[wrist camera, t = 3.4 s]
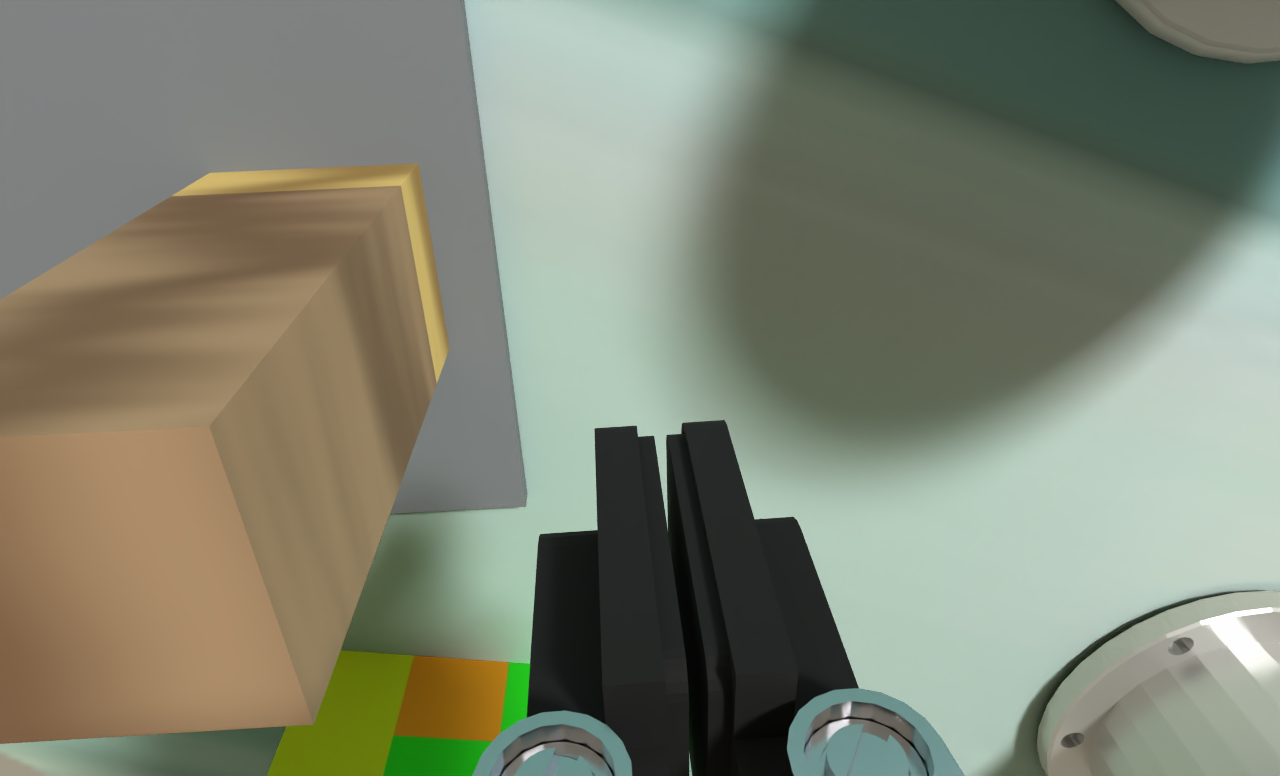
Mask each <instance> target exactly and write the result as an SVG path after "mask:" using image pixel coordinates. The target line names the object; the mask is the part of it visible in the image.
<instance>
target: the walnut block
mask: <svg viewBox="0 0 1280 776" xmlns="http://www.w3.org/2000/svg"><path fill="white" fill-rule="evenodd" d="M449 349H450V348H449V342H448V336H447V330H446V324H445V318H444V312H443V306H442V300H441V294H440V288H439V282H438V276H437V270H436V264H435V258H434V252H433V247H432V241H431V235H430V229H429V223H428V217H427V211H426V205H425V199H424V193H423V187H422V181H421V175H420V169H419V163H417V164H395V165H373V166H351V167H329V168H307V169H285V170H263V171H241V172H219V173H209V174H207V175H205V176H204V177H202V178H200V179H199V180H197V181H195V182H194V183H192V184H190V185H189V186H187V187H185V188H184V189H182V190H181V191H179V192H177V193H176V194H174V195H172V196H171V197H169V198H167V199H166V200H164V201H162V202H161V203H159V204H157V205H156V206H154V207H152V208H151V209H149V210H147V211H146V212H144V213H142V214H141V215H139V216H138V217H136V218H134V219H133V220H131V221H129V222H128V223H126V224H124V225H123V226H121V227H119V228H118V229H116V230H114V231H113V232H111V233H109V234H108V235H106V236H104V237H103V238H101V239H99V240H98V241H96V242H94V243H93V244H91V245H90V246H88V247H86V248H85V249H83V250H81V251H80V252H78V253H76V254H75V255H73V256H71V257H70V258H68V259H66V260H65V261H63V262H61V263H60V264H58V265H56V266H55V267H53V268H51V269H50V270H48V271H46V272H45V273H43V274H42V275H40V276H38V277H37V278H35V279H33V280H32V281H30V282H28V283H27V284H25V285H23V286H22V287H20V288H18V289H17V290H15V291H13V292H12V293H10V294H8V295H7V296H5V297H3V298H2V299H0V744H5V743H21V742H37V741H54V740H70V739H86V738H102V737H119V736H135V735H151V734H167V733H184V732H200V731H216V730H232V729H249V728H265V727H281V726H297V725H314V723H315V720H316V717H317V714H318V711H319V709H320V706H321V703H322V700H323V698H324V695H325V692H326V689H327V687H328V684H329V681H330V678H331V675H332V673H333V670H334V667H335V664H336V662H337V659H338V656H339V653H340V651H341V648H342V645H343V642H344V639H345V637H346V634H347V631H348V628H349V626H350V623H351V620H352V617H353V615H354V612H355V609H356V606H357V603H358V601H359V598H360V595H361V592H362V590H363V587H364V584H365V581H366V579H367V576H368V573H369V570H370V567H371V565H372V562H373V559H374V556H375V554H376V551H377V548H378V545H379V543H380V540H381V537H382V534H383V531H384V529H385V526H386V523H387V520H388V518H389V515H390V512H391V509H392V507H393V504H394V501H395V498H396V495H397V493H398V490H399V487H400V484H401V482H402V479H403V476H404V473H405V471H406V468H407V465H408V462H409V459H410V457H411V454H412V451H413V448H414V446H415V443H416V440H417V437H418V435H419V432H420V429H421V426H422V423H423V421H424V418H425V415H426V412H427V410H428V407H429V404H430V401H431V399H432V396H433V393H434V390H435V387H436V385H437V382H438V379H439V376H440V374H441V371H442V368H443V365H444V363H445V360H446V357H447V354H448V351H449Z"/></svg>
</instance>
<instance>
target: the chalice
mask: <svg viewBox="0 0 1280 776" xmlns="http://www.w3.org/2000/svg"><path fill="white" fill-rule="evenodd" d="M1115 1H1116V2H1117V3H1118V4H1120V5H1121V6H1122V7H1123V8H1124V9H1125V10H1126V11H1127V12H1128V13H1129V14H1130V15H1131V16H1132V17H1133V18H1134V19H1135V20H1136V21H1137V22H1138V23H1139V24H1140V25H1142V26H1143V27H1144V28H1145V29H1146V30H1147V31H1148V32H1149V33H1150V34H1152V35H1154V36H1156V37H1158V38H1160V39H1162V40H1165V41H1167V42H1169V43H1171V44H1173V45H1175V46H1177V47H1179V48H1181V49H1183V50H1185V51H1187V52H1189V53H1191V54H1193V55H1196V56H1202V57H1208V58H1214V59H1220V60H1226V61H1232V62H1238V63H1245V64H1250V63H1260V62H1271V61H1280V0H1115Z"/></svg>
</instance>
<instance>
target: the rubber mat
mask: <svg viewBox="0 0 1280 776" xmlns="http://www.w3.org/2000/svg"><path fill="white" fill-rule="evenodd" d="M417 163H419V169H420V175H421V181H422V187H423V193H424V199H425V205H426V211H427V217H428V223H429V229H430V235H431V241H432V247H433V252H434V258H435V264H436V270H437V276H438V282H439V288H440V294H441V300H442V306H443V312H444V318H445V324H446V330H447V336H448V342H449V348H450V349H449V351H448V354H447V357H446V360H445V363H444V365H443V368H442V371H441V374H440V376H439V379H438V382H437V385H436V387H435V390H434V393H433V396H432V399H431V401H430V404H429V407H428V410H427V412H426V415H425V418H424V421H423V423H422V426H421V429H420V432H419V435H418V437H417V440H416V443H415V446H414V448H413V451H412V454H411V457H410V459H409V462H408V465H407V468H406V471H405V473H404V476H403V479H402V482H401V484H400V487H399V490H398V493H397V495H396V498H395V501H394V504H393V507H392V509H391V512H390V514H399V513H417V512H435V511H453V510H471V509H489V508H507V507H525V506H526V500H527V489H526V481H525V474H524V466H523V458H522V450H521V442H520V434H519V427H518V419H517V411H516V403H515V395H514V388H513V380H512V372H511V364H510V356H509V348H508V341H507V333H506V325H505V317H504V309H503V301H502V294H501V286H500V278H499V270H498V262H497V254H496V247H495V239H494V231H493V223H492V215H491V207H490V200H489V192H488V184H487V176H486V168H485V160H484V153H483V145H482V137H481V129H480V121H479V113H478V106H477V98H476V90H475V82H474V74H473V66H472V59H471V51H470V43H469V35H468V27H467V20H466V12H465V4H464V0H0V299H2V298H3V297H5V296H7V295H8V294H10V293H12V292H13V291H15V290H17V289H18V288H20V287H22V286H23V285H25V284H27V283H28V282H30V281H32V280H33V279H35V278H37V277H38V276H40V275H42V274H43V273H45V272H46V271H48V270H50V269H51V268H53V267H55V266H56V265H58V264H60V263H61V262H63V261H65V260H66V259H68V258H70V257H71V256H73V255H75V254H76V253H78V252H80V251H81V250H83V249H85V248H86V247H88V246H90V245H91V244H93V243H94V242H96V241H98V240H99V239H101V238H103V237H104V236H106V235H108V234H109V233H111V232H113V231H114V230H116V229H118V228H119V227H121V226H123V225H124V224H126V223H128V222H129V221H131V220H133V219H134V218H136V217H138V216H139V215H141V214H142V213H144V212H146V211H147V210H149V209H151V208H152V207H154V206H156V205H157V204H159V203H161V202H162V201H164V200H166V199H167V198H169V197H171V196H172V195H174V194H176V193H177V192H179V191H181V190H182V189H184V188H185V187H187V186H189V185H190V184H192V183H194V182H195V181H197V180H199V179H200V178H202V177H204V176H205V175H207V174H209V173H219V172H241V171H263V170H285V169H307V168H329V167H351V166H373V165H395V164H417Z"/></svg>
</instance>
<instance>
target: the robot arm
mask: <svg viewBox="0 0 1280 776" xmlns="http://www.w3.org/2000/svg"><path fill="white" fill-rule="evenodd" d="M666 449H667V499H668V530H667V523H666V516H665V509H664V502H663V495H662V488H661V481H660V474H659V467H658V460H657V453H656V446H655V440H654V436H644V437H638V433H637V426H625V427H609V428H595V457H596V491H597V525H598V530H595V531H580V532H565V533H551V534H540V536H539V542H538V554H537V569H536V584H535V599H534V614H533V629H532V644H531V659H530V674H529V689H528V704H527V718H525V719H522V720H519V721H518V722H516V723H515V724H513V725H512V726H510V727H509V728H507V729H506V730H504V731H503V732H502V733H500V734H499V735H498V736H497V737H496V738H495V739H494V740H493V742H492V743H491V744H490V745H489V746H488V747H487V749H486V750H485V751H484V752H483V753H482V755H481V758H480V760H479V762H478V764H477V766H476V769H475V771H474V773H473V775H472V776H689V753H690V761H691V769H692V776H965V775H964V774H963V772H962V771H961V769H960V767H959V766H958V764H957V763H956V761H955V759H954V758H953V756H952V754H951V753H950V751H949V750H948V748H947V746H946V745H945V743H944V742H943V740H942V738H941V737H940V736H939V735H938V733H937V732H936V731H935V730H934V728H933V727H932V726H931V725H930V724H929V722H928V721H927V720H926V719H925V718H924V717H923V716H922V715H920V714H919V713H918V712H916V711H915V710H913V709H912V708H911V707H909V706H908V705H907V704H905V703H904V702H902V701H899V700H897V699H895V698H892V697H890V696H888V695H886V694H883V693H881V692H875V691H870V690H864V689H859V687H858V685H857V682H856V679H855V676H854V674H853V671H852V668H851V665H850V663H849V660H848V657H847V654H846V652H845V649H844V646H843V643H842V641H841V638H840V635H839V632H838V630H837V627H836V624H835V621H834V619H833V616H832V613H831V610H830V608H829V605H828V602H827V599H826V597H825V594H824V591H823V588H822V586H821V583H820V580H819V577H818V575H817V572H816V569H815V566H814V564H813V561H812V558H811V555H810V553H809V550H808V547H807V544H806V542H805V539H804V536H803V533H802V531H801V528H800V526H799V524H798V522H797V520H796V519H795V518H794V517H785V518H771V519H756V520H754V517H753V513H752V510H751V506H750V503H749V499H748V496H747V493H746V489H745V486H744V482H743V479H742V475H741V472H740V469H739V465H738V462H737V458H736V455H735V451H734V448H733V445H732V441H731V438H730V434H729V431H728V427H727V424H726V422H725V421H724V420H720V421H704V422H688V423H683V424H682V432H681V434H675V435H667V439H666ZM1037 750H1038V754H1039V759H1040V764H1041V766H1042V767H1043V769H1044V771H1045V773H1046V775H1047V776H1280V591H1255V592H1238V593H1231V594H1225V595H1220V596H1215V597H1210V598H1205V599H1200V600H1197V601H1194V602H1191V603H1188V604H1184V605H1181V606H1178V607H1175V608H1172V609H1169V610H1166V611H1164V612H1162V613H1160V614H1157V615H1155V616H1153V617H1151V618H1149V619H1146V620H1144V621H1142V622H1140V623H1138V624H1135V625H1134V626H1132V627H1130V628H1129V629H1127V630H1125V631H1124V632H1122V633H1120V634H1119V635H1117V636H1115V637H1114V638H1112V639H1110V640H1109V641H1107V642H1106V643H1104V644H1103V645H1102V646H1101V647H1099V648H1098V649H1097V650H1096V651H1094V652H1093V653H1092V654H1091V655H1089V656H1088V657H1087V658H1085V659H1084V660H1083V661H1082V662H1081V663H1080V664H1079V665H1078V666H1077V667H1076V668H1075V669H1074V670H1073V671H1072V672H1071V673H1070V674H1069V675H1068V677H1067V678H1066V679H1065V680H1064V681H1063V682H1062V683H1061V685H1060V686H1059V688H1058V689H1057V691H1056V692H1055V694H1054V695H1053V697H1052V698H1051V700H1050V701H1049V703H1048V704H1047V706H1046V709H1045V712H1044V714H1043V717H1042V719H1041V722H1040V725H1039V729H1038V739H1037Z"/></svg>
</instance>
